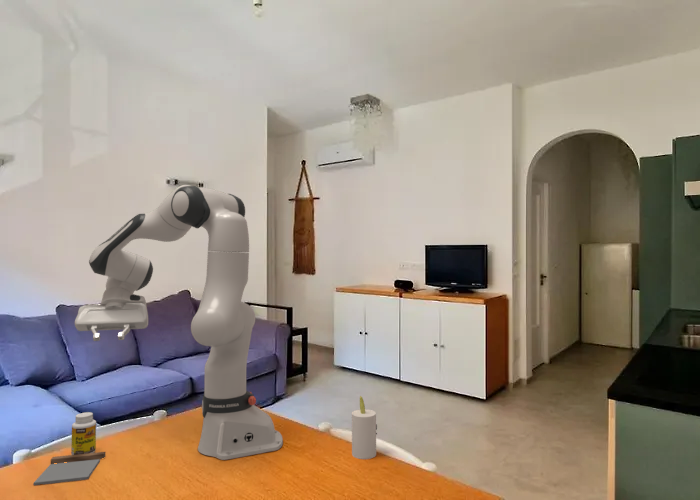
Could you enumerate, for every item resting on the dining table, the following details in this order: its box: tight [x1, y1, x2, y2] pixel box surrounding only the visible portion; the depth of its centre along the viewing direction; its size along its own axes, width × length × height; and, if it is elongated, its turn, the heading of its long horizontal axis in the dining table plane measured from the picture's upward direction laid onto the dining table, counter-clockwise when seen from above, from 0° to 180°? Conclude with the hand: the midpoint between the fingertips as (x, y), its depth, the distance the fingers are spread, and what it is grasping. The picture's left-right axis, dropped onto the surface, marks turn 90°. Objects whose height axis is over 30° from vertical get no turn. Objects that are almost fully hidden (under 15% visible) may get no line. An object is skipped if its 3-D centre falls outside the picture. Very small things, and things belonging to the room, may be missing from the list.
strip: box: [50, 451, 106, 464], centre depth 116 cm, size 12×2×1 cm, turn 105°
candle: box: [351, 395, 378, 460], centre depth 119 cm, size 6×6×15 cm
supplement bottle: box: [70, 411, 97, 455], centre depth 120 cm, size 6×6×10 cm
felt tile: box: [32, 459, 101, 486], centre depth 109 cm, size 11×10×1 cm
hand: (108, 339), depth 136 cm, fingers open, 5 cm apart
